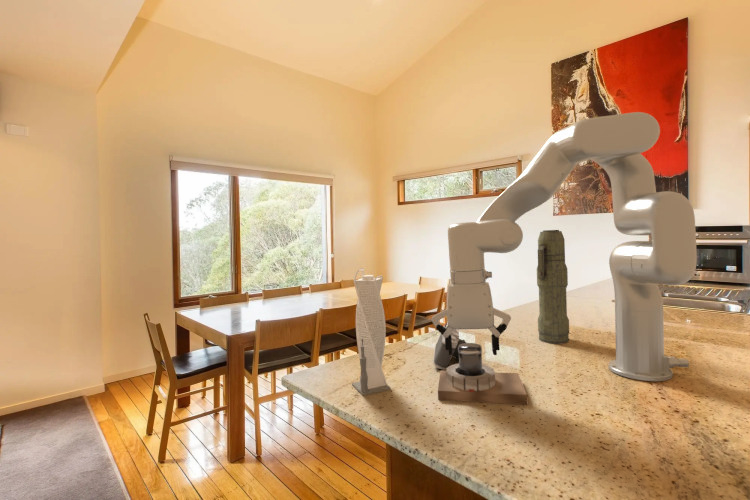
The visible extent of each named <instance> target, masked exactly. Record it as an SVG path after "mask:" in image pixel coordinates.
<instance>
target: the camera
mask: <svg viewBox="0 0 750 500" xmlns="http://www.w3.org/2000/svg"><path fill="white" fill-rule="evenodd" d="M447 326H448V322H446V323H445V325H443V327H445V328H446V327H447ZM459 330H460V329H454V330H453V331H452V332H451V334H450V335H451V338H452V354H451V355H449V350H446V348H445V337H444V336H443V335H442V334H441V333H440V336H439V337H438V340H437V342H436V344H435V345H434V351H433V360H432V364H433V365H434V367H436V368H437V369H440V370H442V371H447V367H449V364H450V361H451V359H452V357H453V358H455V359H456V360H459V352H458V347H459V345H460V344H463V343H467V341H466V340H465V339H461V338H460V331H459Z"/></svg>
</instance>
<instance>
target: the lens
mask: <svg viewBox="0 0 750 500" xmlns="http://www.w3.org/2000/svg"><path fill="white" fill-rule="evenodd" d="M458 352H459V359H458V363H459V373H460V375H464V376H479V375H482V364H483V359H482V358H483V357H482V356H483V354H482V353H483V348H482V345H481V344H478V343H475V342H474V343H473V342H466V343H463V344H460V345H459V347H458Z"/></svg>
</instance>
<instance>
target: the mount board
mask: <svg viewBox="0 0 750 500" xmlns="http://www.w3.org/2000/svg"><path fill="white" fill-rule="evenodd" d="M438 379H439V380H438V387H437V401H455V402H471V403H472V402H473V403H491V404H511V405H528V394H527V392H526V389H525V386H524V384H523V382H522V379H521V377H520V375H519V372H518V373H517V372H496V371H495V369H494V368H493V367H491V366H488V365H486V364H483V363H482V375H479V376H464V375H460V373H459V362H458V363H455V364H451V365H448V366H447V369H446V370H440V372H439V378H438Z"/></svg>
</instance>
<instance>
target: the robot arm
mask: <svg viewBox="0 0 750 500" xmlns="http://www.w3.org/2000/svg"><path fill="white" fill-rule="evenodd" d="M660 134H661V127H660V124H659V122H658V121H657V119H656V118H655V117H654V116H653V115H651V114H650V113H646V112H641V111H636V112H635V111H633V112H626V113H621V114H612V115H605V116H603V115H602V116H596V117H590V118H585V119H582V120H581V119H580V120H579V121H577V122H576V121H575V122H574V123H572V124H570V125H568V126H566V127H563V128H561V129H559V130H557V131H556V132H554V133H553V134H551V135H550V137H548V139H547V140H546V141H545V143H544V144H543V146H542V147H541V148H540V149H539V151H537V153H536V154H535V156H534V157H533V158H532V160H531V161H530V162H529V164H528V165H527V166H526V168H524V170H523V172H522V173H521V174H520V175H519V176H518V177H517V178H516V179H515V180H514V181H513V182H512V183H510V185H508V186H507V187H506V189H504V191H502V193H500V194H499V195H498V196H497V197H496V198H495V199H494V200H493V201H491V203H490V204H489V206H487V207H486V209H485V210H484V211H483V213H482V214H481V215H480V217H479V218H478V219H477V221H475V222H474V221H469V222H456V223H452V224H450V225H449V226H448V228H447V241H448V242H447V243H448V257H449V258H448V259H449V274H450V275H449V276H450V283H448V284H447V289H446V309H443V310H442V311H440V312H438V313H436V314H434V315H433V316H431V323H432V324H433V325H434V327H435V328H436V329H435V330H437V332H439V333H440V335H441V334H442V335H443V336H444V337H445V348H446V350H449V355H451V354H452V338H451V335H450V334H451V332H452V331H453V330H454V329H459V330H487V329H488V330H489V331H490V332H491V336H490V337H491V351H492V354H493V355H494V356H497V355H498V353H497V352H498V351H500V336H501V335H502V334H503V333H504V332H505V331H506V329H508V326H509V324H510V322H511V320H512V317H511V315H510V314H508V313H506V312H505V311H502V310H500V309H497V308H495V307H494V304H493V303H494V302H493V296H492V292H491V291H492V290H491V288H490V287H491V286H490V283H489V282H487V281H486V280H487V279H489V278H493V273H492V271H487V270H486V268H485V253H495V254H507V253H508V254H509V253H511V252H513V251H515V250H517V249H518V248H519V246H521V244H522V242H523V238H524V234H523V230H522V227H521V226H520V225H519V224H517V223H516V221H517V220H519V218H521V217H522V216H523V215H525V214H526V213H528V212H530V211H532V210H534V209H535V208H538V207H540V206H542V205H543V204H545V203H546V202H548V201H549V200H551V198H553V196H554V195H555V194H556V192H557V191H558V190H559V188H560V187H561V186H562V184H563V183H564V182H565V180H566V179H567V178H568V176H569V175H570V174H571V173H572V172H573V170H574V169H575V167H577V165H578V164H579V163H583V162H587V161H590V160H591V161H593V162H594V163H596V164H597V165H599V166H600V167H601V168H603V170H604V171H605V173H606V174H607V176H608V177H609V180H610V187H611V196H612V211H613V213H612V214H613V223H614V227H615V229H616V230H617V231H618V232H619V233H621V234H623V235H627V236H651V240H633V241H632V240H631V241H625V242H622V243H621V244H618V245H617V246H615V247H614V249H612V251H611V252H610V255H609V259H608V261H609V263H608V264H609V265H608V266H609V271H610V273H611V277H612V282H613V292H614V317H615V318H614V321H615V324H614V325H615V326H614V327H615V328H614V329H615V359H613V360H610V361H609V363H608V370H610V371H611V372H612V373H613V374H616V375H619V376H621V377H624V378H628V379H633V380H637V381H646V382H663V381H669V380H671V379H672V378H673V376H674V373H673V370H672V369H673V368H674V367H675V368H676V367H678V368H689V367H690V362H689V360H688V359H687V358H676V356H667V355H666V354H665V339H664V337H665V334H664V333H665V331H664V330H665V329H664V328H665V327H664V323H665V322H664V297H663V295H662V292H661V289H660V287H659V286H658V285H664V286H680V285H684V284H686V283H687V282H689V281H690V280H691V279H692V277H693V276H694V274H695V273H696V269H697V260H698V259H697V254H698V253H697V239H696V238H697V235H696V233H697V232H696V217H695V216H696V215H695V210H694V207H693V205H692V204H691V202H690V201H689V199H688V197H686V196H685V195H684V194H682V193H680V192H676V191H671V190H670V191H667V190H666V191H659V192H657V190H656V189H657V188H656V187H657V186H656V179H655V173H654V169H653V167H652V164H651V163H650V162H649V160H648V159H647V158H646V157H645V156H644V155H643V154H642V153H644V152H647V151H648V150H650V149H652V148H653V146H654V145H656V143H657V141H658V140H659V137H660ZM495 316H496V317H498V318H500V319H502V321H501V322H500V323H499V325H498V326H497V327H496V325H495ZM444 318H446V320H447V322H448V326H447V327H446V328H445V327H444V325H442V324H441V322H440V320H442V319H444ZM447 322H446V323H447Z"/></svg>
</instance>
